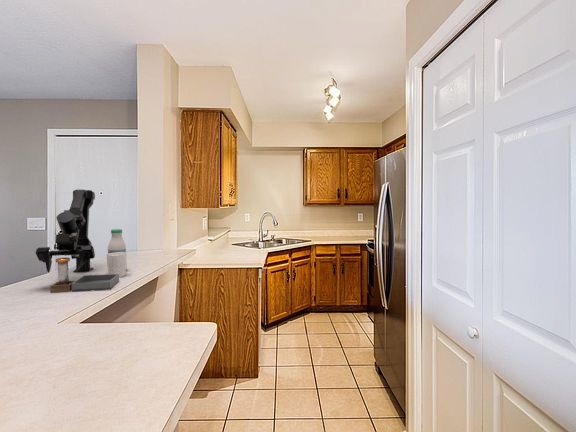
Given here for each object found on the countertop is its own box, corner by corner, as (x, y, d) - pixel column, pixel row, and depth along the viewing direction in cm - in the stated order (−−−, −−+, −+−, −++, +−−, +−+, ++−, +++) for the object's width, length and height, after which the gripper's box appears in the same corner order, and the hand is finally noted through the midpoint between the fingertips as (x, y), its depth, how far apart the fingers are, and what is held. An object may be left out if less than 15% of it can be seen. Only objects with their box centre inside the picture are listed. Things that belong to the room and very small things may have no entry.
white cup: (130, 274, 151) (130, 252, 150) (120, 278, 143) (119, 255, 142) (114, 273, 152) (113, 252, 151) (103, 277, 144) (102, 255, 143)
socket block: (57, 287, 128) (57, 281, 128) (76, 286, 129) (76, 280, 129) (50, 292, 122) (50, 286, 122) (69, 291, 123) (69, 285, 123)
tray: (84, 282, 136) (84, 275, 136) (118, 280, 139) (118, 273, 139) (72, 291, 123) (71, 283, 123) (110, 289, 126) (110, 282, 126)
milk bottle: (108, 270, 157) (107, 228, 156) (126, 269, 161) (125, 228, 159) (107, 274, 150) (106, 230, 149) (126, 272, 154) (125, 229, 152)
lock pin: (59, 288, 127) (58, 257, 126) (72, 287, 128) (71, 257, 127) (54, 291, 123) (53, 259, 122) (68, 291, 124) (66, 259, 123)
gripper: (36, 226, 125) (26, 260, 115) (92, 225, 132) (87, 257, 122) (43, 244, 133) (35, 277, 123) (96, 242, 140) (92, 273, 130)
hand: (62, 271), depth 124 cm, fingers open, 9 cm apart
